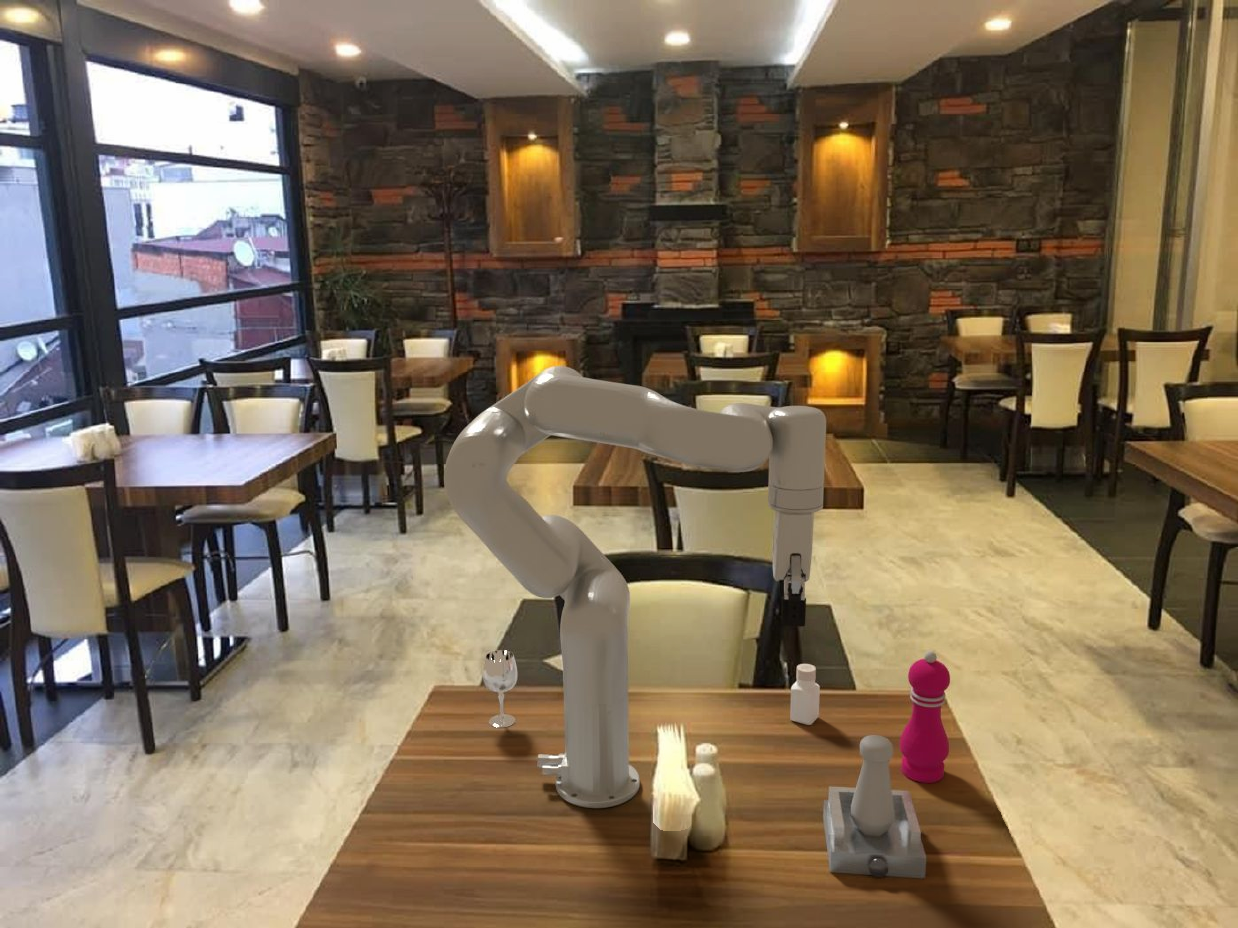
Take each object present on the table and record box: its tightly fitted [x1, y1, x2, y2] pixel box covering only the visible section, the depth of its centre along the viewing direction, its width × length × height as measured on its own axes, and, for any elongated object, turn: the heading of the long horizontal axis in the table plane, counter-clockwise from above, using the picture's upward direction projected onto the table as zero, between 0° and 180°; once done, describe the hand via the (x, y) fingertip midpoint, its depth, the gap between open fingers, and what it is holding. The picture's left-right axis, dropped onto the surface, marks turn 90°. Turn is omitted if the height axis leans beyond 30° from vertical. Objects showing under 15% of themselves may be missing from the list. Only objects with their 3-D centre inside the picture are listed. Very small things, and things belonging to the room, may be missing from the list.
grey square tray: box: [822, 786, 927, 880], centre depth 134 cm, size 12×13×6 cm
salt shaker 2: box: [851, 734, 895, 836], centre depth 133 cm, size 6×6×13 cm
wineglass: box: [482, 649, 518, 729], centre depth 169 cm, size 6×6×12 cm
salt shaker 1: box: [789, 663, 821, 726], centre depth 169 cm, size 4×4×10 cm
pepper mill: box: [899, 650, 951, 784], centre depth 151 cm, size 7×7×20 cm
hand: (791, 611), depth 142 cm, fingers open, 9 cm apart
